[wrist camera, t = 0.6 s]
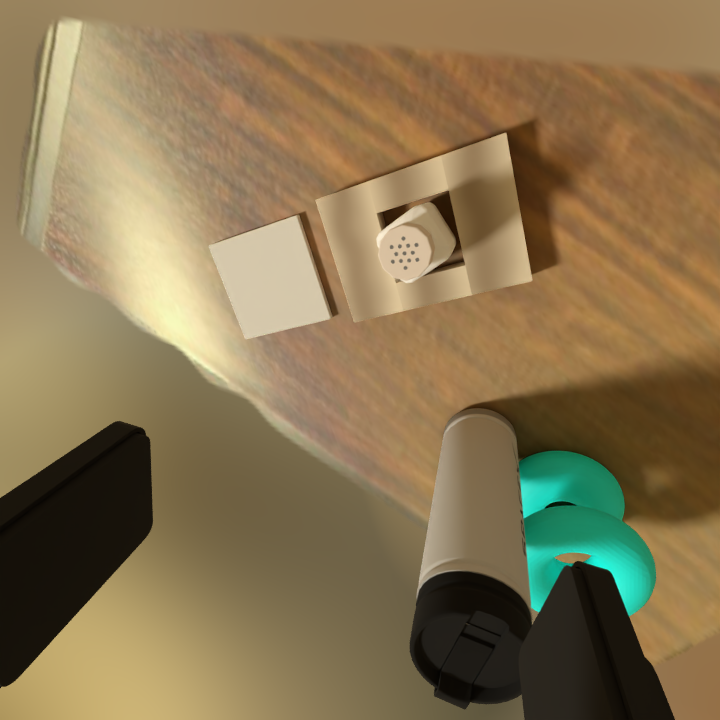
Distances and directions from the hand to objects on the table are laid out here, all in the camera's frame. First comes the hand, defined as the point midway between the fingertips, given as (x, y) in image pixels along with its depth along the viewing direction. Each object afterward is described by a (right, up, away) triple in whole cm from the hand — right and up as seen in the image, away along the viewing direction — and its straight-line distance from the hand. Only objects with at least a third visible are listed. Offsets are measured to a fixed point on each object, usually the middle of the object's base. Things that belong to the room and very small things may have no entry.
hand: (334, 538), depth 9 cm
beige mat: (-7, +11, +29) cm, 31 cm away
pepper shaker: (+6, +14, +24) cm, 28 cm away
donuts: (+18, -8, +29) cm, 35 cm away
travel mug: (+11, -3, +29) cm, 31 cm away
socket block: (+6, +14, +24) cm, 28 cm away
